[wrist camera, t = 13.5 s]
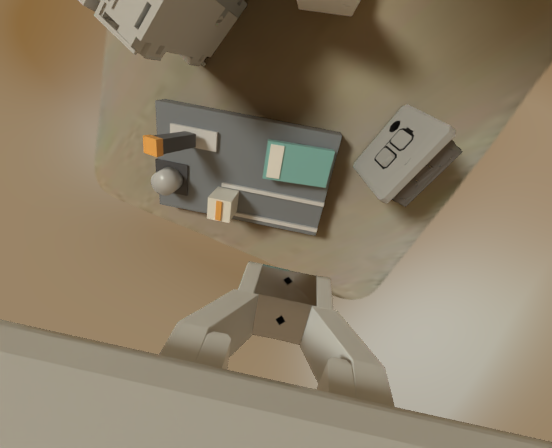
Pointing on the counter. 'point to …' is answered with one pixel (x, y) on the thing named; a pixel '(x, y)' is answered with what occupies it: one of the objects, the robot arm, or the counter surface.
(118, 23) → the circuit breaker
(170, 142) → the toggle lever
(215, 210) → the cream cube orange stripe
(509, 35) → the counter surface
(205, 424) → the robot arm
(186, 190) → the panel
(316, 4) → the white angled block
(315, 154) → the teal tile cream strip
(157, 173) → the button
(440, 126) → the electrical switch
